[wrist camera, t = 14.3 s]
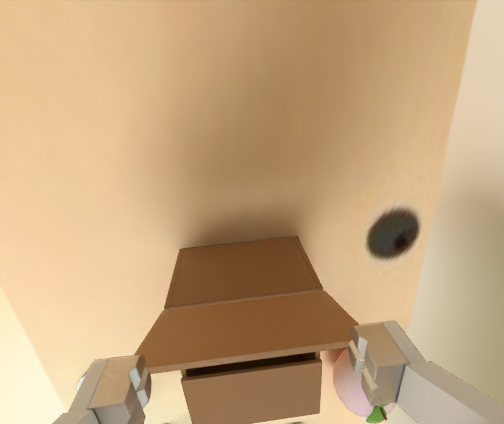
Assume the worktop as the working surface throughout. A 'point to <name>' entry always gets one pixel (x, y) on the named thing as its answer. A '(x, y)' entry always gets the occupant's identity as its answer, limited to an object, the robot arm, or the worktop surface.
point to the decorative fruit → (356, 391)
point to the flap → (245, 331)
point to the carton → (254, 371)
